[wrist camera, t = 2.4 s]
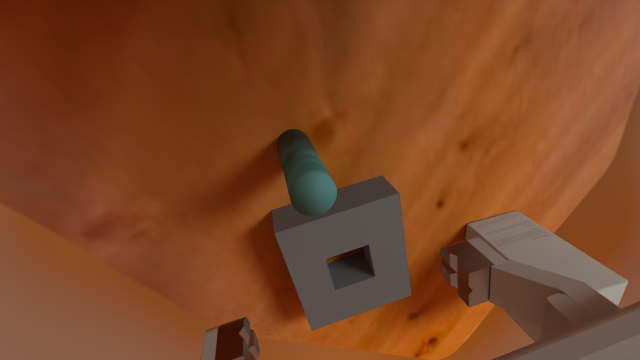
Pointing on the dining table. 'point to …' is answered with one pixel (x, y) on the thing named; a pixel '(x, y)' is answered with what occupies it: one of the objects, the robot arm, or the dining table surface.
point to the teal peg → (305, 174)
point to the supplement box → (544, 256)
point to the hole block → (342, 236)
